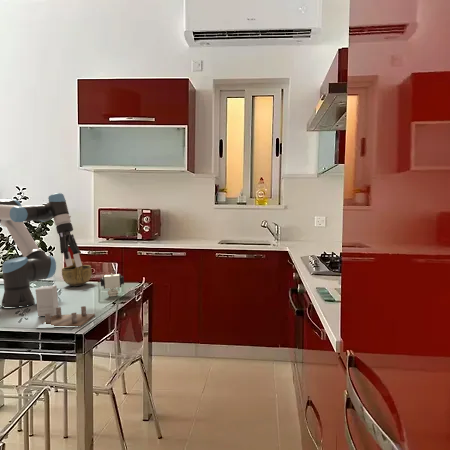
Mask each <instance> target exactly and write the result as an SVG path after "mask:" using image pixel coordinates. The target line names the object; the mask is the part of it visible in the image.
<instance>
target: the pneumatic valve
mask: <svg viewBox="0 0 450 450" xmlns="http://www.w3.org/2000/svg"><path fill="white" fill-rule="evenodd" d="M99 280H100V282H99V283H100V287H103V289H104V290H105V289H108V291H107V296H108V297H110V298H111V297H112V298H113V297H117V296H118V295H119V290H118V289H117V288H122V285H125V280H124V275H121V273H117V274H113V273H112V272H111V273H110V274H106V275H102V277H100V279H99Z"/></svg>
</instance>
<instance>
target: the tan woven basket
mask: <svg viewBox="0 0 450 450" xmlns="http://www.w3.org/2000/svg"><path fill="white" fill-rule="evenodd" d="M71 260H72V264H73V265H71V266H68V267H67V266H66V267H62V268H61V276H62V279H63V281H64V282H65V284H66V285H69V286H71V287H80V285H81V286H83V285H85V284H87V283H88V282H89V281H90V279H91V278H92V274H93V273H92V265H87V264H83V262H82V261H81V263H82V266H80V267H76V264H75V260H74V258H71Z"/></svg>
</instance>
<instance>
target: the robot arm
mask: <svg viewBox="0 0 450 450" xmlns="http://www.w3.org/2000/svg"><path fill="white" fill-rule="evenodd" d="M47 199H48V202H47V203H46V204H37V205H35V204H34V205H22V204H21V202H20V201H19V200H18V199H15V198H1V199H0V224H1V226H2V227H5V228H6V229H7V232H8V233H9V234H10V236H11V237H12V239H13V241H14V244H15V245H16V246H17V248H18V249H19V252H20V253H21V256H18V257H14V258H10V259H7V260H5V261H4V262H3V263H2V279H3V289H4V291H3V292H4V293H3V296H2V299H1V307H2V306H4V307H19V306H26V307H28V306H27V305H30V306H32V304H33V305H35V303H36V301H35V297H34V294H33V292H32V290H31V286H30V283H32V282H37V281H41V280H46V279H50V278H52V277H54V276H55V273H56V271H57V262H56V260H55V258H54V256H52V255H47V254H46V251H44V250H43V249H40V248H39V246H38V244H37V243H36V241H35V240H34V238H33V237H32V235H31V233H30V232H29V230H28V228H27V226H26V225H25V223H24V222H33V221H34V222H35V221H39V222H42V223H44V222H48V221H50V220H52V219H53V221H54V225H55V226H56V227H55V230H56V232H57V234H58V236H59V247H60V249H59V250H60V253H61V255H63V257H64V258H63V259H64V261H65V264H66V265H65V266H66V267H69V266H71V265H73V264H72V260H71V259H72V256H73V259H74V260H75V264H76V267H80V266H82V264H83V262H82V260H81V257H80V253H81V251H80V248H79V246H78V243H77V242H76V239H75V236H74V234H73V233H72V234H71V232H73V230H74V228H73V224H72V223H71V222H72V221H71V217H72V216H71V215H70V213H69V208H68V205H67V200H66V198H65V195H64V194H63V193H61V192H58V193H53V194H50V195H49V196H48V197H47ZM69 248H70V250H71V252H72V253H73V255H72V256H71V253H70V251H69ZM81 262H82V263H81Z"/></svg>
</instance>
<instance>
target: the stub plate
mask: <svg viewBox="0 0 450 450" xmlns="http://www.w3.org/2000/svg"><path fill="white" fill-rule="evenodd" d="M80 311H81V313H77V312H72V313H70V314H62V307H61V306H58V307H57V308H56V315H54V316H50V314H45V317H44V321H43V322H46V324H51V325H54V326H81V325H83V324H84V323H85V324H86V323H87V321H88V322H89V321H90V320H92V319H93V318H94V317H95V316H96V313H87V306H86V305H85V306H84V305H83V306H81V307H80ZM85 324H84V325H85ZM84 325H83V326H84ZM81 327H82V326H81Z"/></svg>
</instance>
